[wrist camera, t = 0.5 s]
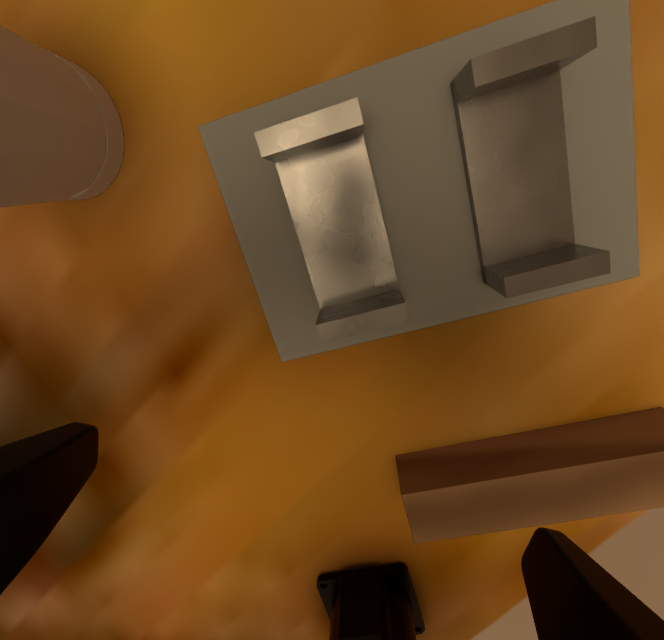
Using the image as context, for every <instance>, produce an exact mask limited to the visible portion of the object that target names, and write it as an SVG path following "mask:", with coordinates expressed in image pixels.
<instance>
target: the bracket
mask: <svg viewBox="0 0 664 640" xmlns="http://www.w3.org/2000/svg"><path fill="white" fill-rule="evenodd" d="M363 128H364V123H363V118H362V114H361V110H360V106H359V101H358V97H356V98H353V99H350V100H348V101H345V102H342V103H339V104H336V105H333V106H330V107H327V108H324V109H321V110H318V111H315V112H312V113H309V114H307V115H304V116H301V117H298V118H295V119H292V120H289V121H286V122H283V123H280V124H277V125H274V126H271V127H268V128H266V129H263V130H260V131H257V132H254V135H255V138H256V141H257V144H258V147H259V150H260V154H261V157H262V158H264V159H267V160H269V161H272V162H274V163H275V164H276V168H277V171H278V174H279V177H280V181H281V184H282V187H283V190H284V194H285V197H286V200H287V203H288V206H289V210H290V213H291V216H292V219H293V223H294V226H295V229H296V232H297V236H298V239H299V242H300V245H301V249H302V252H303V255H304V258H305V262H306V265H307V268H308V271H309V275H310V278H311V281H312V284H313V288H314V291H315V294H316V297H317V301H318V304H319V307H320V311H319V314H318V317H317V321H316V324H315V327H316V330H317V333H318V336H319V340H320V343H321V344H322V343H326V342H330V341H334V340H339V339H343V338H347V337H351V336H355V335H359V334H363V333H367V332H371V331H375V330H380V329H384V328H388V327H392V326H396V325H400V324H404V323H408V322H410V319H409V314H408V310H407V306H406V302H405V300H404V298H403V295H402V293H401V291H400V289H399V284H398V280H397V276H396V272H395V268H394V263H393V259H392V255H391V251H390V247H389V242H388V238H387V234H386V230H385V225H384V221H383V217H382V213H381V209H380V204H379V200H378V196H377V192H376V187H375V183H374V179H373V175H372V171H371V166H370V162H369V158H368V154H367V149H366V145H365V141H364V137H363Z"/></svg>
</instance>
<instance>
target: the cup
mask: <svg viewBox="0 0 664 640" xmlns="http://www.w3.org/2000/svg"><path fill="white" fill-rule="evenodd" d="M123 154H124V135H123V129H122V124H121V120H120V117H119V114H118V112H117V109H116V107H115V105H114V103H113V101H112V100H111V98H110V96H109V95H108V93H107V92H106V90H105V89H104V88H103V86H102V85H101V84H100V83H99V82H98V81H97V80H96V79H95V78H94V77H93V76H92V75H91V74H90V73H88V72H87V71H86V70H84V69H83V68H82V67H80V66H78V65H76V64H75V63H73V62H70V61H68V60H66V59H64V58H62V57H60V56H58V55H55V54H53V53H51V52H49V51H47V50H44V49H41V48H39V47H38V46H36V45H34V44H32V43H31V42H29V41H27V40H25V39H24V38H22V37H20V36H18V35H17V34H15V33H13V32H11V31H10V30H8V29H6V28H4V27H3V26H1V25H0V207H8V206H17V205H25V204H33V203H41V202H50V201H58V200H84V199H88V198H91V197H94V196H96V195H98V194H100V193H101V192H103V191H104V190H105V189H107V188H108V187H109V186H110V184H111V183H112V182H113V181H114V179H115V178H116V176H117V174H118V172H119V170H120V167H121V164H122V160H123Z"/></svg>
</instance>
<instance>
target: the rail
mask: <svg viewBox="0 0 664 640" xmlns="http://www.w3.org/2000/svg"><path fill="white" fill-rule="evenodd" d="M396 462H397V469H398V475H399V482H400V489H401V495H402V499H403V503H404V506H405V510H406V514H407V518H408V521H409V525H410V529H411V532H412V536H413V540H414V543H415V544H416V543H423V542H430V541H437V540H443V539H450V538H457V537H464V536H471V535H477V534H484V533H491V532H498V531H505V530H511V529H518V528H525V527H532V526H539V525H545V524H552V523H559V522H566V521H573V520H579V519H586V518H593V517H600V516H606V515H613V514H620V513H627V512H634V511H640V510H647V509H654V508H660V507H664V409H663V408H661V407H658V408H652V409H647V410H642V411H636V412H631V413H625V414H620V415H614V416H609V417H603V418H598V419H592V420H587V421H581V422H576V423H570V424H565V425H559V426H554V427H548V428H543V429H537V430H532V431H527V432H521V433H516V434H510V435H505V436H499V437H494V438H488V439H483V440H477V441H472V442H466V443H461V444H455V445H450V446H444V447H439V448H433V449H428V450H422V451H417V452H411V453H406V454H401V455H396Z"/></svg>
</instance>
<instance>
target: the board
mask: <svg viewBox="0 0 664 640" xmlns="http://www.w3.org/2000/svg"><path fill="white" fill-rule="evenodd" d="M593 16H595V18H596V35H597V48H595V49H593V50H592V51H590V52H588V53H587V54H585V55H584V56H582V57H580V58H579V59H577V60H575V61H574V62H572V63H571V64H569V65H567V66H566V67H564V68H563V69H561V70H560V77H561V88H562V100H563V111H564V123H565V134H566V146H567V157H568V169H569V180H570V192H571V203H572V215H573V226H574V237H575V244H580V245H584V246H589V247H594V248H598V249H603V250H607V251H609V252H610V268H611V273H609V274H605V275H601V276H597V277H593V278H589V279H585V280H581V281H576V282H572V283H568V284H564V285H560V286H556V287H552V288H548V289H544V290H540V291H535V292H531V293H527V294H523V295H519V296H515V297H511V298H505V297H504V296H502V295H501V294H499V293H498V292H496V291H495V290H494V289H492V288H491V287H489V286H488V285H486V284H485V283H483V278H482V272H481V266H480V260H479V254H478V248H477V242H476V236H475V230H474V224H473V218H472V212H471V206H470V200H469V194H468V188H467V182H466V176H465V170H464V164H463V158H462V152H461V146H460V140H459V134H458V128H457V122H456V116H455V110H454V104H453V98H452V92H451V86H450V83H451V82H452V81H453V79H454V78H455V77H456V76H457V74H458V73H459V72H460V71H461V70H462V68H463V67H464V66H465V65H466V64H467V62H468V61H469V60H470V59H471V58H473V57H476V56H479V55H482V54H485V53H488V52H491V51H494V50H497V49H500V48H503V47H506V46H509V45H511V44H514V43H517V42H520V41H523V40H526V39H529V38H532V37H535V36H538V35H541V34H544V33H547V32H550V31H552V30H555V29H558V28H561V27H564V26H567V25H570V24H573V23H576V22H579V21H582V20H585V19H588V18H591V17H593ZM356 97H358V101H359V106H360V110H361V114H362V118H363V123H364V128H363V137H364V141H365V145H366V149H367V154H368V158H369V162H370V166H371V171H372V175H373V179H374V183H375V187H376V192H377V196H378V200H379V204H380V209H381V213H382V217H383V221H384V225H385V230H386V234H387V238H388V242H389V247H390V251H391V255H392V259H393V263H394V268H395V272H396V276H397V280H398V284H399V289H400V291H401V293H402V295H403V298H404V300H405V302H406V306H407V310H408V314H409V319H410V322H408V323H404V324H400V325H396V326H392V327H388V328H384V329H380V330H375V331H371V332H367V333H363V334H359V335H355V336H351V337H347V338H343V339H339V340H334V341H330V342H326V343H322V344H321V343H320V340H319V336H318V333H317V330H316V327H315V324H316V321H317V317H318V314H319V311H320V307H319V304H318V301H317V297H316V294H315V291H314V288H313V284H312V281H311V278H310V275H309V271H308V268H307V265H306V262H305V258H304V255H303V252H302V249H301V245H300V242H299V239H298V236H297V232H296V229H295V226H294V223H293V219H292V216H291V213H290V210H289V206H288V203H287V200H286V197H285V194H284V190H283V187H282V184H281V181H280V177H279V174H278V171H277V168H276V164H275V163H274V162H272V161H269V160H267V159H264V158H262V157H261V154H260V150H259V147H258V144H257V141H256V138H255V135H254V132H257V131H260V130H263V129H266V128H268V127H271V126H274V125H277V124H280V123H283V122H286V121H289V120H292V119H295V118H298V117H301V116H304V115H307V114H309V113H312V112H315V111H318V110H321V109H324V108H327V107H330V106H333V105H336V104H339V103H342V102H345V101H348V100H350V99H353V98H356ZM198 129H199V132H200V135H201V137H202V140H203V143H204V146H205V149H206V151H207V154H208V157H209V160H210V163H211V165H212V168H213V171H214V174H215V177H216V179H217V182H218V185H219V188H220V191H221V193H222V196H223V199H224V202H225V205H226V207H227V210H228V213H229V216H230V219H231V221H232V224H233V227H234V230H235V233H236V235H237V238H238V241H239V244H240V247H241V249H242V252H243V255H244V258H245V261H246V263H247V266H248V269H249V272H250V275H251V277H252V280H253V283H254V286H255V289H256V291H257V294H258V297H259V300H260V303H261V305H262V308H263V311H264V314H265V317H266V319H267V322H268V325H269V328H270V331H271V333H272V336H273V339H274V342H275V345H276V347H277V350H278V353H279V356H280V359H281V361H282V362H284V361H288V360H293V359H297V358H301V357H305V356H309V355H313V354H318V353H322V352H326V351H330V350H334V349H338V348H342V347H347V346H351V345H355V344H359V343H363V342H367V341H372V340H376V339H380V338H384V337H388V336H392V335H397V334H401V333H405V332H409V331H413V330H417V329H422V328H426V327H430V326H434V325H438V324H442V323H447V322H451V321H455V320H459V319H463V318H467V317H472V316H476V315H480V314H484V313H488V312H492V311H497V310H501V309H505V308H509V307H513V306H517V305H522V304H526V303H530V302H534V301H538V300H542V299H547V298H551V297H555V296H559V295H563V294H567V293H572V292H576V291H580V290H584V289H588V288H592V287H597V286H601V285H605V284H609V283H613V282H617V281H622V280H626V279H630V278H634V277H638V276H639V248H638V221H637V193H636V166H635V138H634V111H633V83H632V56H631V28H630V1H629V0H555V1H552V2H549V3H546V4H544V5H541V6H538V7H535V8H532V9H529V10H527V11H524V12H521V13H518V14H515V15H512V16H510V17H507V18H504V19H501V20H498V21H495V22H493V23H490V24H487V25H484V26H481V27H478V28H476V29H473V30H470V31H467V32H464V33H461V34H459V35H456V36H453V37H450V38H447V39H444V40H441V41H439V42H436V43H433V44H430V45H427V46H424V47H422V48H419V49H416V50H413V51H410V52H407V53H405V54H402V55H399V56H396V57H393V58H390V59H388V60H385V61H382V62H379V63H376V64H373V65H371V66H368V67H365V68H362V69H359V70H356V71H354V72H351V73H348V74H345V75H342V76H339V77H337V78H334V79H331V80H328V81H325V82H322V83H320V84H317V85H314V86H311V87H308V88H305V89H303V90H300V91H297V92H294V93H291V94H288V95H286V96H283V97H280V98H277V99H274V100H271V101H269V102H266V103H263V104H260V105H257V106H254V107H251V108H249V109H246V110H243V111H240V112H237V113H234V114H232V115H229V116H226V117H223V118H220V119H217V120H215V121H212V122H209V123H206V124H203V125H200V126H198Z"/></svg>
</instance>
